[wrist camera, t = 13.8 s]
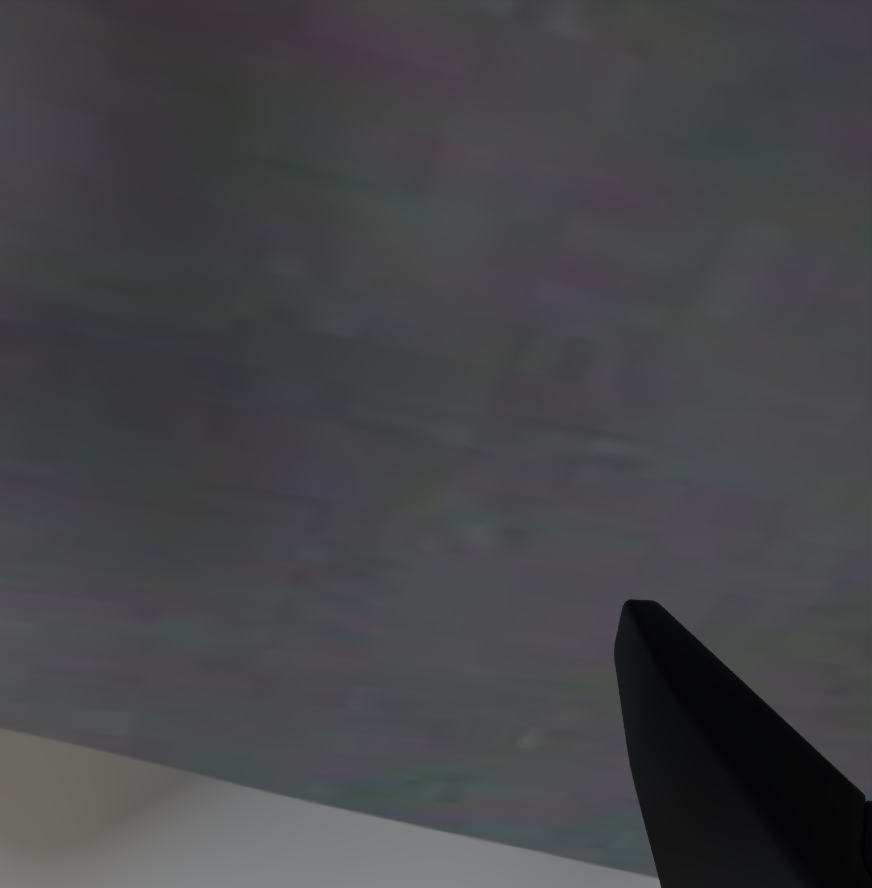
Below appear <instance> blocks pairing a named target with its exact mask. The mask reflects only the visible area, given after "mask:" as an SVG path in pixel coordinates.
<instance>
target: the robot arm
mask: <svg viewBox="0 0 872 888" xmlns="http://www.w3.org/2000/svg"><path fill="white" fill-rule="evenodd" d="M614 657H615V666H616V673H617V680H618V687H619V694H620V701H621V708H622V715H623V722H624V729H625V736H626V743H627V750H628V756H629V762H630V767H631V772H632V776H633V780H634V785H635V789H636V792H637V796H638V800H639V804H640V808H641V812H642V815H643V819H644V823H645V827H646V831H647V835H648V838H649V842H650V846H651V850H652V854H653V858H654V861H655V865H656V869H657V873H658V877H659V880H660V884H661V888H872V801H866V802H865V800H866V798H865V795H864V794H863V793H862V792H861V791H860V790H859V789H858V788H857V787H856V786H855V785H853V784H852V783H851V782H850V781H849V780H848V779H847V778H846V777H845V776H844V775H843V774H842V773H841V772H840V771H838V770H837V769H836V768H835V767H834V766H833V765H832V764H831V763H830V762H829V761H828V760H827V759H826V758H824V757H823V756H822V755H821V754H820V753H819V752H818V751H817V750H816V749H815V748H814V747H813V746H812V745H811V744H809V743H808V742H807V741H806V740H805V739H804V738H803V737H802V736H801V735H800V734H799V733H798V732H797V731H795V730H794V729H793V728H792V727H791V726H790V725H789V724H788V723H787V722H786V721H785V720H784V719H783V718H781V717H780V716H779V715H778V714H777V713H776V712H775V711H774V710H773V709H772V708H771V707H770V706H769V705H768V704H766V703H765V702H764V701H763V700H762V699H761V698H760V697H759V696H758V695H757V694H756V693H755V692H754V691H752V690H751V689H750V688H749V687H748V686H747V685H746V684H745V683H744V682H743V681H742V680H741V679H740V678H739V677H737V676H736V675H735V674H734V673H733V672H732V671H731V670H730V669H729V668H728V667H727V666H726V665H725V664H723V663H722V662H721V661H720V660H719V659H718V658H717V657H716V656H715V655H714V654H713V653H712V652H711V651H710V650H708V649H707V648H706V647H705V646H704V645H703V644H702V643H701V642H700V641H699V640H698V639H697V638H696V637H694V636H693V635H692V634H691V633H690V632H689V631H688V630H687V629H686V628H685V627H684V626H683V625H682V624H681V623H679V622H678V621H677V620H676V619H675V618H674V617H673V616H672V615H671V614H670V613H669V612H668V611H667V610H665V609H664V608H663V607H662V606H661V605H660V604H659V603H657V602H655V601H652V600H634V599H630V600H628V601H626V602H625V603H624V605H623V608H622V612H621V617H620V622H619V626H618V631H617V636H616V640H615V648H614Z"/></svg>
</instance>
